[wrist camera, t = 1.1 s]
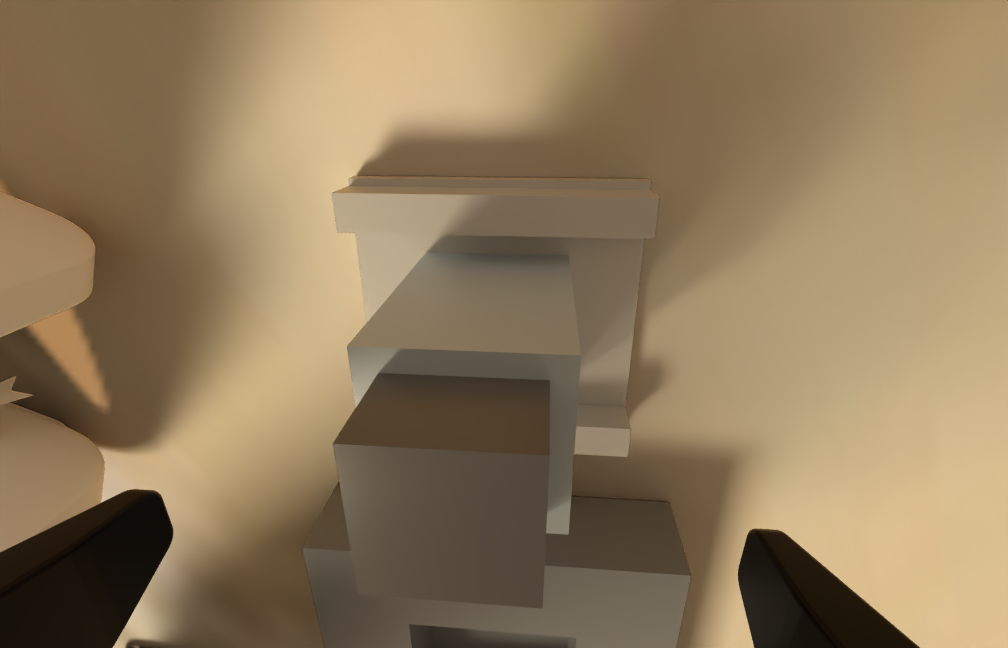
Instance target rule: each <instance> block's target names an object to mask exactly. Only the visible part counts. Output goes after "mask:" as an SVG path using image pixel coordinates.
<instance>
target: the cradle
mask: <svg viewBox="0 0 1008 648" xmlns="http://www.w3.org/2000/svg"><path fill="white" fill-rule="evenodd" d="M650 189H651V181H650V180H648V179H598V178H507V177H417V176H353V177H351V178H349V186H348V187H345V188H343V189H340V190H338V191H335V192H333V193H332V199H333V206H334V214H335V221H336V228H337V233H355V235H356V243H357V252H358V260H359V268H360V276H361V284H362V292H363V300H364V309H365V317H366V323H367V322H368V321H369V320H370V318H371V317H372V316H373V315H374V314H375V312H376V311H377V310H378V309H379V308H380V307H381V305H382V304H383V303H384V302H385V301H386V299H387V298H388V297H389V296H390V295H391V293H392V292H393V291H394V290H395V289H396V288H397V286H398V285H399V284H400V283H401V282H402V280H403V279H404V278H405V277H406V276H407V275H408V273H409V272H410V271H411V270H412V269H413V267H414V266H415V265H416V264H417V263H418V261H419V260H420V259H421V258H422V257H423V256H424V254H425V253H426V252H439V253H483V254H526V255H569V261H570V269H571V277H572V285H573V293H574V301H575V309H576V317H577V325H578V333H579V342H580V350H581V365H580V380H579V394H578V408H577V422H576V437H575V451H574V454H581V455H599V456H618V457H628V450H629V441H630V433H631V427H630V423H629V419H628V415H627V411H626V407H625V405H626V396H627V387H628V379H629V370H630V362H631V353H632V344H633V336H634V327H635V318H636V310H637V301H638V293H639V284H640V275H641V267H642V258H643V249H644V241H645V239H655V232H656V224H657V216H658V208H659V200H660V197H659V196H657V195H656V194H655V193H654V192H653V191H651V190H650Z"/></svg>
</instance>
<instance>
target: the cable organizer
mask: <svg viewBox="0 0 1008 648" xmlns="http://www.w3.org/2000/svg"><path fill="white" fill-rule="evenodd" d="M94 261H95V245H94V242H93V240H92V239H91V237H90V236H89V235H88V234H87V233H86V232H85V231H84V230H82V229H81V228H80V227H78V226H77V225H75V224H74V223H72V222H70V221H69V220H67V219H65V218H63V217H61V216H59V215H56V214H54V213H52V212H50V211H48V210H45V209H43V208H40V207H38V206H35V205H33V204H30V203H28V202H25V201H23V200H20V199H18V198H16V197H13V196H11V195H8V194H6V193H4V192H1V191H0V337H3V336H5V335H7V334H10V333H12V332H14V331H17V330H19V329H22V328H24V327H26V326H29V325H31V324H33V323H36V322H38V321H40V320H43V319H45V318H47V317H50V316H52V315H55V314H57V313H59V312H62V311H64V310H67V309H69V308H71V307H74V306H76V305H78V304H80V303H81V302H83V301H84V300H85V299H86V298H88V297H89V296H90V294H91V292H92V288H93V275H94ZM15 379H16V376H14V377H12V378H9V379H7V380H5V381H2V382H0V552H2V551H4V550H6V549H8V548H10V547H12V546H14V545H16V544H18V543H20V542H22V541H24V540H26V539H28V538H30V537H32V536H34V535H37V534H39V533H41V532H43V531H45V530H47V529H49V528H51V527H53V526H55V525H57V524H59V523H61V522H63V521H65V520H67V519H69V518H71V517H73V516H75V515H77V514H80V513H82V512H84V511H86V510H88V509H90V508H92V507H94V506H96V505H98V504H100V502H101V499H102V490H103V480H104V470H105V461H104V458H103V455H102V453H101V452H100V450H99V448H98V447H97V446H96V445H95V444H94V443H93V442H92V441H91V440H89V439H88V438H87V437H85V436H84V435H82V434H80V433H78V432H76V431H75V430H72V429H70V428H68V427H66V426H65V425H64V424H63V423H61V422H60V421H58V420H55V419H53V418H50V417H47V416H45V415H42V414H40V413H37V412H34V411H32V410H29V409H26V408H24V407H21V406H18V405H16V404H13V403H10V402H13V401H16V400H19V399H23V398H26V397H29V396H33V395H32V394H27V393H22V392H17V391H12V390H11V389H12V386H13V384H14V381H15Z"/></svg>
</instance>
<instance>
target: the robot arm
mask: <svg viewBox="0 0 1008 648" xmlns="http://www.w3.org/2000/svg"><path fill="white" fill-rule="evenodd" d="M172 539H173V527H172V524H171V521H170V518H169V515H168V512H167V510H166V507H165V504H164V501H163V498H162V496H161V495H160V494H159V493H158V492H157V491H154V490H139V489H133V490H127V491H125V492H123V493H120V494H118V495H116V496H114V497H112V498H110V499H108V500H106V501H104V502H102V503H100V504H98V505H96V506H94V507H92V508H90V509H88V510H86V511H84V512H82V513H80V514H77V515H75V516H73V517H71V518H69V519H67V520H65V521H63V522H61V523H59V524H57V525H55V526H53V527H51V528H49V529H47V530H45V531H43V532H41V533H39V534H37V535H34V536H32V537H30V538H28V539H26V540H24V541H22V542H20V543H18V544H16V545H14V546H12V547H10V548H8V549H6V550H4V551H2V552H0V648H113V646H114V644H115V643H116V641H117V639H118V638H119V636H120V634H121V632H122V631H123V629H124V627H125V625H126V624H127V622H128V620H129V618H130V617H131V615H132V613H133V611H134V609H135V608H136V606H137V604H138V602H139V600H140V599H141V597H142V595H143V593H144V591H145V590H146V588H147V586H148V584H149V583H150V581H151V579H152V577H153V575H154V574H155V572H156V570H157V568H158V566H159V565H160V563H161V561H162V559H163V557H164V556H165V554H166V552H167V550H168V548H169V547H170V544H171V542H172ZM738 581H739V587H740V591H741V595H742V599H743V603H744V607H745V611H746V616H747V620H748V624H749V628H750V632H751V636H752V640H753V644H754V648H920V647H919V646H917V645H916V644H915V643H914V642H913V641H911V640H910V639H909V638H908V637H907V636H906V635H904V634H903V633H902V632H901V631H900V630H899V629H897V628H896V627H895V626H894V625H893V624H891V623H890V622H889V621H888V620H887V619H886V618H884V617H883V616H882V615H881V614H880V613H878V612H877V611H876V610H875V609H874V608H873V607H871V606H870V605H869V604H868V603H867V602H866V601H864V600H863V599H862V598H861V597H860V596H858V595H857V594H856V593H855V592H854V591H853V590H851V589H850V588H849V587H848V586H847V585H845V584H844V583H843V582H842V581H841V580H840V579H838V578H837V577H836V576H835V575H834V574H833V573H831V572H830V571H829V570H828V569H827V568H825V567H824V566H823V565H822V564H821V563H820V562H818V561H817V560H816V559H815V558H814V557H812V556H811V555H810V554H809V553H808V552H807V551H805V550H804V549H803V548H802V547H801V546H800V545H798V544H797V543H796V542H795V541H794V540H792V539H791V538H790V537H789V536H788V535H786V534H785V533H783V532H782V531H779V530H770V529H752V530H750V532H749V533H748V535H747V538H746V542H745V546H744V550H743V553H742V557H741V561H740V565H739V569H738Z"/></svg>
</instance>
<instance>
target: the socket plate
mask: <svg viewBox="0 0 1008 648" xmlns="http://www.w3.org/2000/svg"><path fill="white" fill-rule="evenodd" d="M302 551H303V556H304V560H305V564H306V569H307V573H308V578H309V582H310V587H311V591H312V596H313V600H314V605H315V609H316V613H317V618H318V622H319V627H320V631H321V636H322V640H323V645H324V648H676V645H677V641H678V636H679V631H680V627H681V622H682V617H683V613H684V608H685V603H686V599H687V594H688V589H689V585H690V580H691V573H690V570H689V566H688V563H687V560H686V556H685V553H684V550H683V546H682V543H681V540H680V536H679V533H678V530H677V526H676V523H675V520H674V516H673V513H672V510H671V506H670V503H669V502H657V501H641V500H624V499H608V498H591V497H575V496H571V508H570V522H569V535H566V534H551V533H546V548H545V570H544V592H543V609H541V608H528V607H515V606H502V605H490V604H477V603H464V602H452V601H439V600H426V599H413V598H401V597H388V596H375V595H362V594H358V589H357V583H356V577H355V571H354V565H353V560H352V554H351V548H350V542H349V536H348V530H347V524H346V519H345V513H344V507H343V501H342V495H341V489H340V483H338V484H337V486H336V488H335V490H334V491H333V493H332V495H331V497H330V499H329V500H328V502H327V504H326V506H325V507H324V509H323V511H322V513H321V515H320V516H319V518H318V520H317V522H316V524H315V525H314V527H313V529H312V531H311V532H310V534H309V536H308V538H307V540H306V541H305V543H304V545H303V547H302Z"/></svg>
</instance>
